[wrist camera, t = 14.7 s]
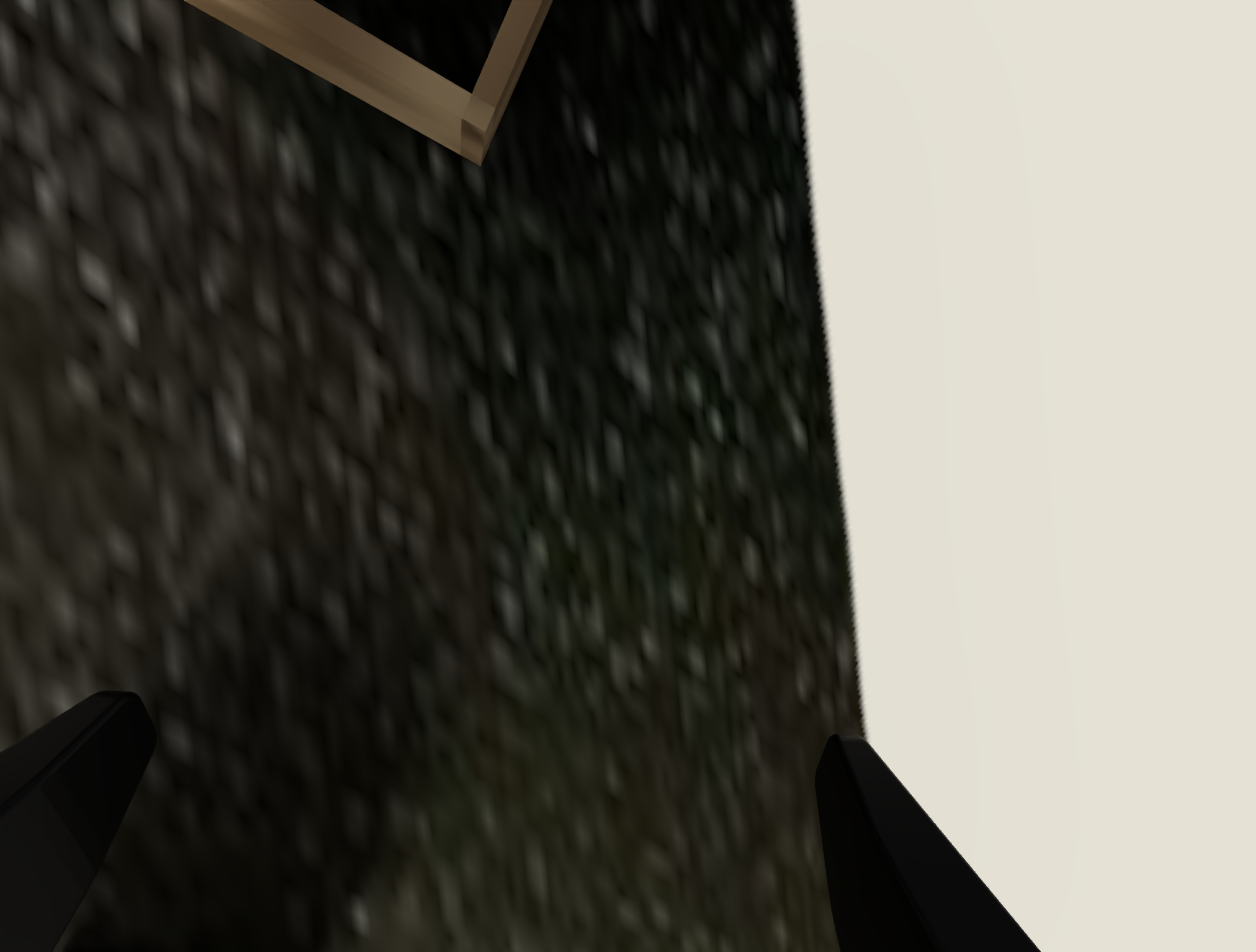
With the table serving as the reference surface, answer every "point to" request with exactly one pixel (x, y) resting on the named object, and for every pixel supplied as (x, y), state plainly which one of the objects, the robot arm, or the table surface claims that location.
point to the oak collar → (393, 66)
